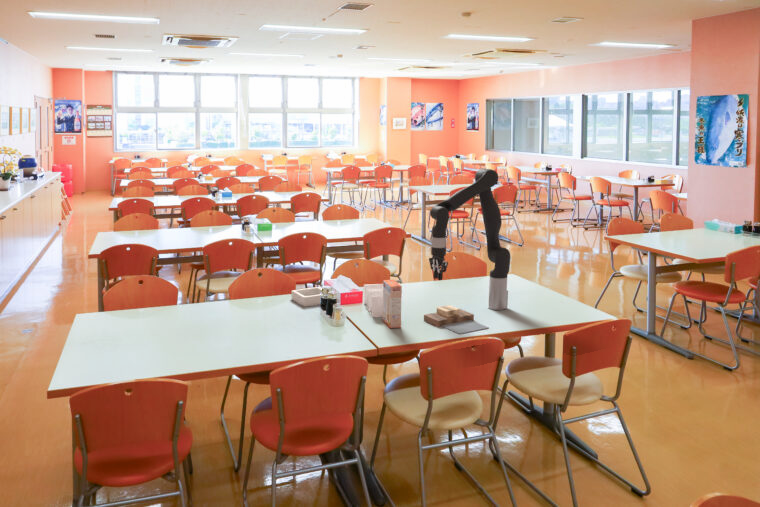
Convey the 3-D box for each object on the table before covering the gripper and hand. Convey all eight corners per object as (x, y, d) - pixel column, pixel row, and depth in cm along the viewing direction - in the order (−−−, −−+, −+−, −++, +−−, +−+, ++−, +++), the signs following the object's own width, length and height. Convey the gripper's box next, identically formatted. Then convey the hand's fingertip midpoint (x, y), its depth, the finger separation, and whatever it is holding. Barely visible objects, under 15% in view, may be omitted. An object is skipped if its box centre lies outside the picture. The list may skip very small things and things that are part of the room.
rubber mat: (469, 320, 323) (469, 319, 323) (488, 328, 310) (488, 327, 310) (440, 325, 314) (440, 324, 314) (459, 334, 301) (459, 333, 301)
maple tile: (449, 310, 328) (449, 305, 327) (459, 314, 321) (459, 309, 321) (436, 313, 324) (436, 307, 323) (446, 317, 317) (446, 311, 317)
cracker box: (401, 328, 310) (402, 285, 306) (389, 328, 308) (389, 286, 304) (394, 319, 323) (394, 279, 319) (382, 320, 322) (382, 279, 318)
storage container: (393, 316, 329) (393, 295, 327) (372, 317, 327) (372, 296, 325) (383, 303, 353) (383, 283, 351) (363, 304, 351) (363, 284, 349)
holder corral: (318, 295, 368) (318, 286, 367) (332, 302, 354) (332, 293, 353) (291, 299, 359) (291, 290, 358) (304, 306, 345) (303, 297, 344)
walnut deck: (458, 314, 333) (459, 308, 332) (473, 320, 323) (473, 314, 322) (423, 320, 322) (423, 314, 321) (438, 326, 312) (438, 320, 311)
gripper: (453, 247, 320) (452, 281, 323) (436, 243, 331) (435, 275, 335) (441, 248, 316) (440, 283, 319) (424, 244, 328) (423, 277, 331)
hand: (437, 279), depth 327 cm, fingers open, 3 cm apart
